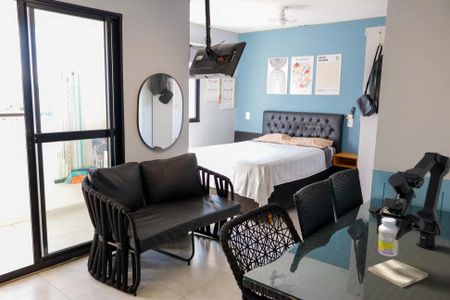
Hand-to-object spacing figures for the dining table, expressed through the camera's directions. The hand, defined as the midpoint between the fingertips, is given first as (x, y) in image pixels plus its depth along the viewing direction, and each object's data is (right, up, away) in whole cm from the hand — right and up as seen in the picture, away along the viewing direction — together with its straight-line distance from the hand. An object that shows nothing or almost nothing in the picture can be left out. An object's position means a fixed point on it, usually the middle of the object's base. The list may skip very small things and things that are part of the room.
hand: (386, 236), depth 129 cm
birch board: (+4, -13, 0) cm, 14 cm away
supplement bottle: (+1, -7, +2) cm, 7 cm away
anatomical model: (+29, -5, +58) cm, 65 cm away
